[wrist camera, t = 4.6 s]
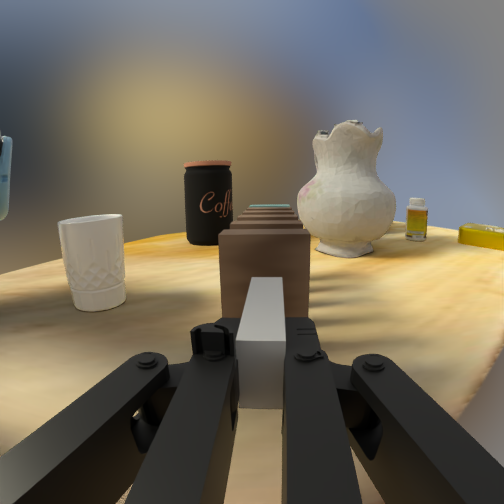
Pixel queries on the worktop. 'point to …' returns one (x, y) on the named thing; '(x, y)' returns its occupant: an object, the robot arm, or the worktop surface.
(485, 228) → the element tile
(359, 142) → the ceramic pitcher
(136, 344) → the worktop surface
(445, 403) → the worktop surface
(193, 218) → the coffee jar
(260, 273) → the domino
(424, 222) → the supplement bottle
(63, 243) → the white cup
